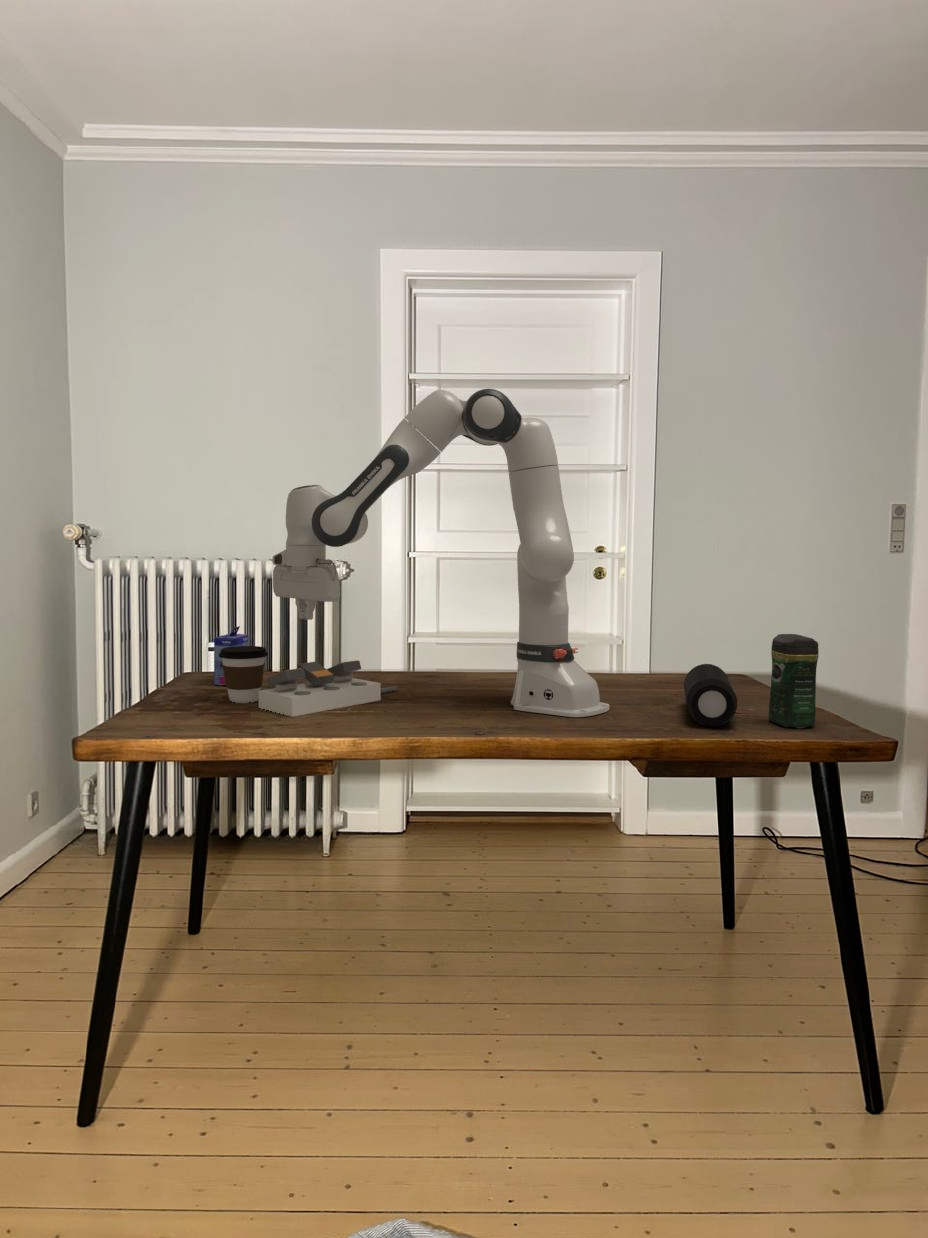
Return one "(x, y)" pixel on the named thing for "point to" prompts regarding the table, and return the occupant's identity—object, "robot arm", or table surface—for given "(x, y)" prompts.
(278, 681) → the rocker
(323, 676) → the rocker
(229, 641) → the ink cartridge box
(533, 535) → the robot arm
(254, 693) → the coffee cup
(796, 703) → the coffee jar
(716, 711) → the portable speaker
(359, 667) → the rocker
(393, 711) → the table surface
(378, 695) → the power strip
